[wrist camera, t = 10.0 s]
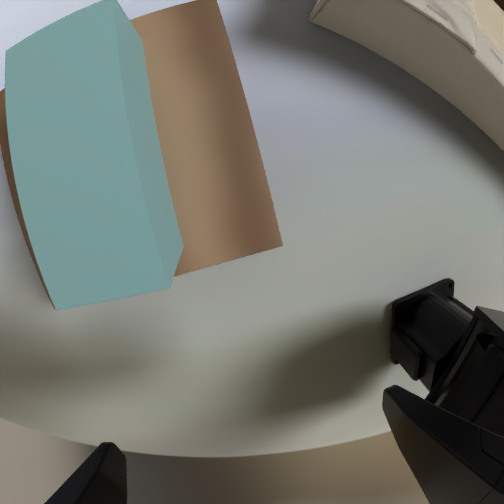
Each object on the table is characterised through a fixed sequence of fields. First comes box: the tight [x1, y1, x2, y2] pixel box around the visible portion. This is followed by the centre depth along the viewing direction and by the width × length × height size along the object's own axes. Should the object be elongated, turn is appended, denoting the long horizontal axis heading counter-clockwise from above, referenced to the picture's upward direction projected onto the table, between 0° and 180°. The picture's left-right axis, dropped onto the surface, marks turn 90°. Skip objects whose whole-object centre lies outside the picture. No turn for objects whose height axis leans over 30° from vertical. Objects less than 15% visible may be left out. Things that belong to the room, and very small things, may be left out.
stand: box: [0, 0, 283, 309], centre depth 14 cm, size 14×14×3 cm
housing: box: [5, 0, 184, 310], centre depth 10 cm, size 11×5×5 cm, turn 11°
